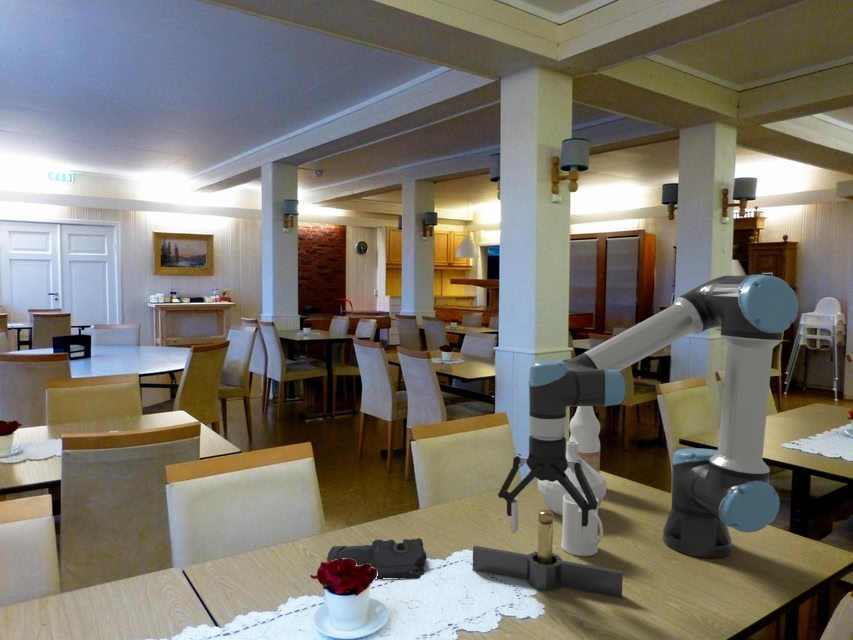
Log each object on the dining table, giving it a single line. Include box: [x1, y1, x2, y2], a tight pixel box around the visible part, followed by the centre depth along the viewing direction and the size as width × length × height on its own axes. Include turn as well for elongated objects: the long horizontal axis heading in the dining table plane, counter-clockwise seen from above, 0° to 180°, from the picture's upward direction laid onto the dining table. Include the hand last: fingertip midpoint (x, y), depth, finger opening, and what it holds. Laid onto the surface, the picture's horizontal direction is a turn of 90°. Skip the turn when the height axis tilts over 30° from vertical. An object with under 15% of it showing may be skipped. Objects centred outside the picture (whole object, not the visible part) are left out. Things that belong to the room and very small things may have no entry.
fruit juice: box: [568, 406, 601, 474], centre depth 182 cm, size 9×9×28 cm
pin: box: [537, 509, 554, 565], centre depth 124 cm, size 3×3×15 cm
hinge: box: [472, 545, 624, 599], centre depth 124 cm, size 31×7×5 cm, turn 69°
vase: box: [537, 440, 607, 517], centre depth 163 cm, size 18×18×19 cm
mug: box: [560, 493, 604, 557], centre depth 139 cm, size 12×8×12 cm
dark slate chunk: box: [326, 537, 427, 580], centre depth 132 cm, size 15×22×5 cm
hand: (546, 535), depth 124 cm, fingers open, 13 cm apart
